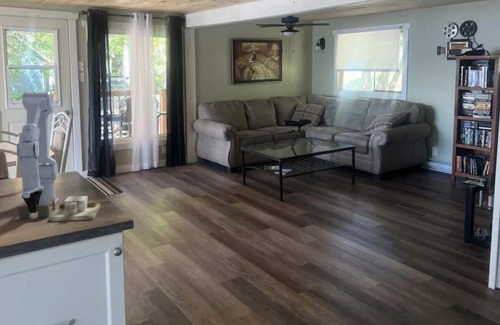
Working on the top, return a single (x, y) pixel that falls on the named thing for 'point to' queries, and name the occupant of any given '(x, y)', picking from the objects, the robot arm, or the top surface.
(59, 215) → the stand
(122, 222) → the top surface
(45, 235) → the top surface
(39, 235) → the top surface
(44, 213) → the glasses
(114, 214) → the top surface
